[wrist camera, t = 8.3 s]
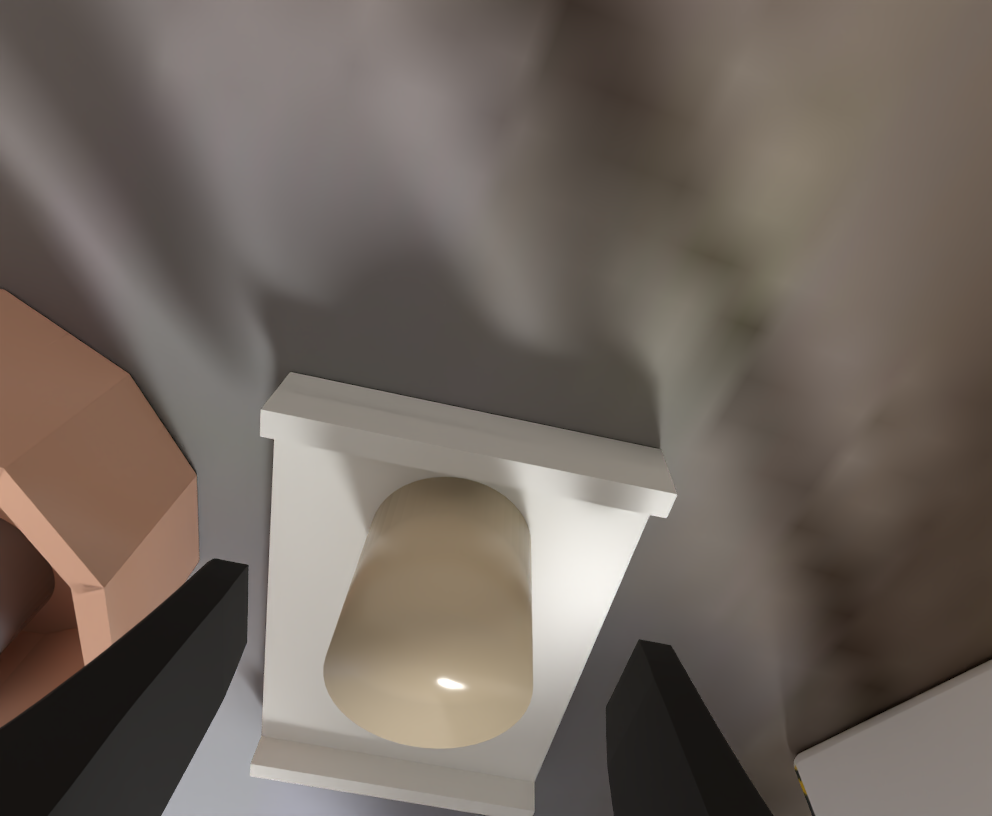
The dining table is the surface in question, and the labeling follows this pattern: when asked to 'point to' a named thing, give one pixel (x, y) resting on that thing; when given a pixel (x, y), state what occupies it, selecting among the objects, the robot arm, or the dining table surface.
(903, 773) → the medicine bottle
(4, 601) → the grey rounded short piece
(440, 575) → the sandstone pebble
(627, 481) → the parts tray
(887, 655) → the dining table surface
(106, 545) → the terracotta bowl
